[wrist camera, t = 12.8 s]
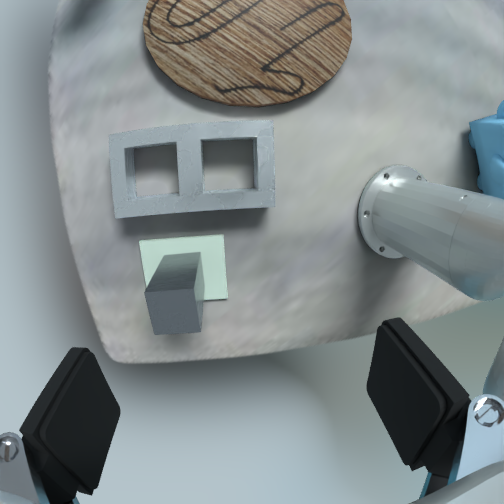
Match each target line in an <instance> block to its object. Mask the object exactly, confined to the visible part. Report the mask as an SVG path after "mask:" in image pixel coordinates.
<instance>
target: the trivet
mask: <svg viewBox="0 0 504 504" xmlns="http://www.w3.org/2000/svg"><path fill="white" fill-rule="evenodd" d="M143 29H144V35H145V41H146V46H147V47H148V49H149V51H150V53H151V55H152V56H153V58H154V60H155V62H156V64H157V65H158V67H159V68H160V69H161V70H162V71H163V72H164V73H165V74H166V75H167V76H168V77H169V78H170V79H171V80H172V81H174V82H175V83H176V84H177V85H178V86H180V87H181V88H183V89H185V90H187V91H189V92H191V93H193V94H195V95H197V96H198V97H200V98H202V99H206V100H210V101H214V102H218V103H222V104H225V105H229V106H246V107H264V106H270V105H276V104H282V103H288V102H290V101H292V100H295V99H297V98H300V97H302V96H305V95H307V94H310V93H312V92H313V91H315V90H316V89H317V88H318V87H320V86H321V85H322V84H324V83H325V82H326V81H328V80H329V79H330V78H332V77H333V76H334V75H335V74H336V72H337V71H338V69H339V68H340V67H341V65H342V64H343V62H344V61H345V60H346V58H347V54H348V51H349V47H350V44H351V40H352V32H351V19H350V16H349V13H348V11H347V8H346V5H345V3H344V1H343V0H149V1H148V3H147V6H146V11H145V16H144V21H143Z"/></svg>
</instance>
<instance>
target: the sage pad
mask: <svg viewBox="0 0 504 504" xmlns="http://www.w3.org/2000/svg"><path fill="white" fill-rule="evenodd" d="M139 244H140V251H141V257H142V264H143V270H144V275H145V281H146V287H147V286H148V284H149V282H150V280H151V278H152V276H153V275H154V273H155V271H156V269H157V267H158V265H159V263H160V261H161V260H162V258H163V256H164V255H170V254H181V253H192V252H201V259H202V267H203V275H204V283H205V291H204V300H210V299H226V298H228V295H227V281H226V267H225V252H224V236H223V234H220V235H205V236H191V237H176V238H163V239H150V240H140V241H139Z"/></svg>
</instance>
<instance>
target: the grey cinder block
mask: <svg viewBox="0 0 504 504" xmlns="http://www.w3.org/2000/svg"><path fill="white" fill-rule="evenodd" d="M243 139H253V155H254V186H255V188H243V189H224V190H208V191H205V183H204V164H203V142H204V141H220V140H243ZM170 144H177V161H178V178H179V193H170V194H159V195H149V196H140V197H137V191H136V179H135V165H134V149H137V148H145V147H153V146H161V145H170ZM109 153H110V170H111V182H112V193H113V203H114V211H115V219H116V218H126V217H136V216H146V215H157V214H169V213H182V212H195V211H209V210H225V209H242V208H262V207H275V164H274V130H273V120H256V121H223V122H206V123H193V124H182V125H172V126H163V127H155V128H148V129H141V130H134V131H128V132H122V133H116V134H110V135H109Z"/></svg>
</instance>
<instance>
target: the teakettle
mask: <svg viewBox="0 0 504 504" xmlns="http://www.w3.org/2000/svg"><path fill="white" fill-rule="evenodd" d="M469 125H470V129H471V132H470V134H469V143H470V146H471V147H472V148H473V149H475V150H476V155H477V160H478V165H479V170H480V174H479V175H478V178H477V185H478V188H479V189H480V190H483V194H485V195H489V196H493V197H497V198H501V199H504V100H503V101H502V102H501V104H500V105H499V107H498V110H497V114H495V115H492V116H488V117H485V118H482V119H478V120H475V121H472V122H469Z"/></svg>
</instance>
